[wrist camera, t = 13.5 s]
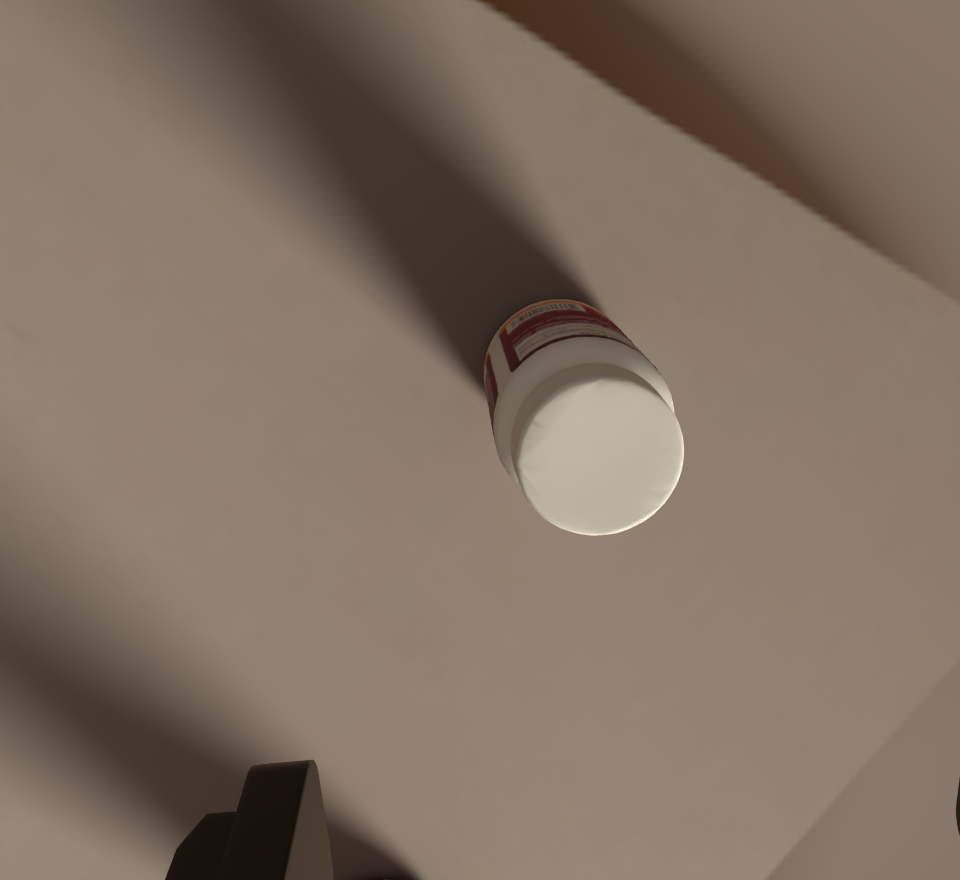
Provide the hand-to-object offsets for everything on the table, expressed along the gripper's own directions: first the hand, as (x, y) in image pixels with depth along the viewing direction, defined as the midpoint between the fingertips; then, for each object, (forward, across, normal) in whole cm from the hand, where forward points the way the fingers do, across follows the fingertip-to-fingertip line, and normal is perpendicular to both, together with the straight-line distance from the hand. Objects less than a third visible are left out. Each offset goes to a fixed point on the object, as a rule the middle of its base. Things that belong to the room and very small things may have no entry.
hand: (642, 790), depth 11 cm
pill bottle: (+19, -1, 0) cm, 19 cm away
